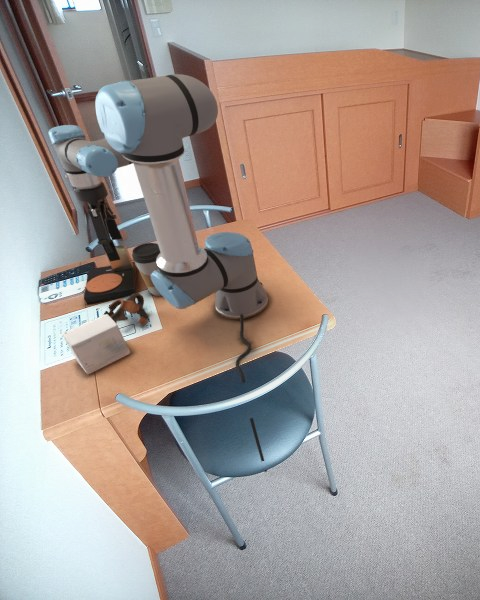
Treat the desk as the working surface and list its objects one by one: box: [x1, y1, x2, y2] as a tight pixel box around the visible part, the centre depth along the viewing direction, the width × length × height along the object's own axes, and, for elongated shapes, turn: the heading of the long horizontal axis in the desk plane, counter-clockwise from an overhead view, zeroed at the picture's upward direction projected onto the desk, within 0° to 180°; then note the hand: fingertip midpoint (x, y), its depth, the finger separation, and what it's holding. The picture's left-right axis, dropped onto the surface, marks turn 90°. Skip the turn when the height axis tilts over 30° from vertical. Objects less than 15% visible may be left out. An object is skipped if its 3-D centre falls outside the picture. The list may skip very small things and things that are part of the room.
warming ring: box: [85, 274, 122, 293], centre depth 131 cm, size 10×10×1 cm
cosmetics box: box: [61, 314, 131, 375], centre depth 107 cm, size 10×6×10 cm, turn 140°
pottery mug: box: [103, 292, 150, 327], centre depth 121 cm, size 12×10×8 cm
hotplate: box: [83, 261, 138, 306], centre depth 134 cm, size 18×15×3 cm
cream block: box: [104, 244, 134, 272], centre depth 135 cm, size 6×3×8 cm, turn 115°
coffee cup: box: [131, 242, 162, 297], centre depth 129 cm, size 8×8×15 cm
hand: (116, 249), depth 133 cm, fingers open, 13 cm apart
